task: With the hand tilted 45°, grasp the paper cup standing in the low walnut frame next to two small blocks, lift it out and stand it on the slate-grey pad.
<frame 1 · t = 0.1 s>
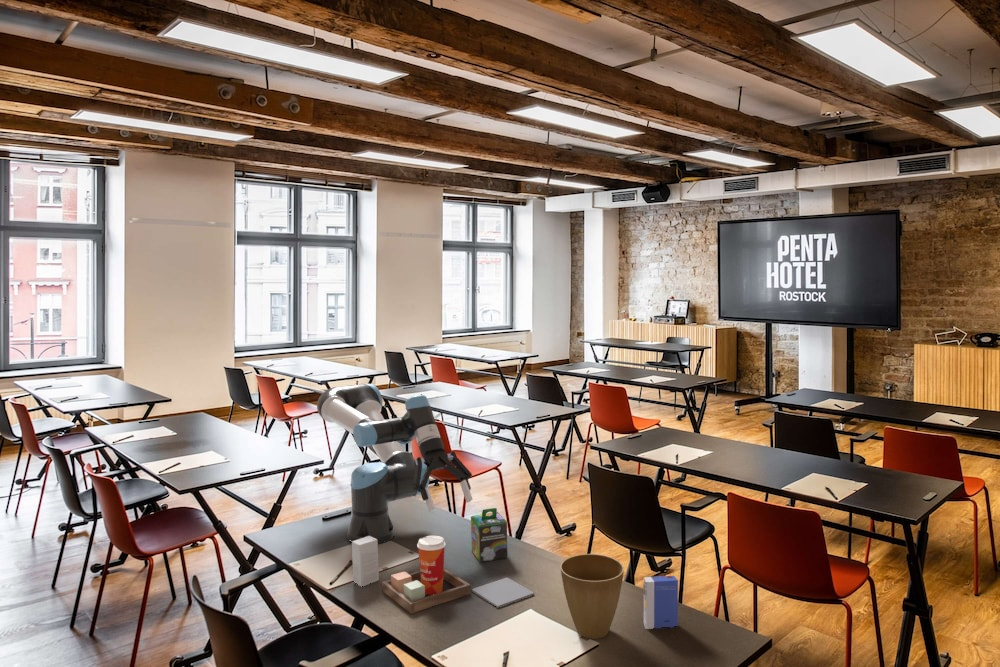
hand: (451, 505, 210), 15 cm above the table, tool tilted 35°, fingers open, 13 cm apart
sage block: (414, 603, 180), resting in walnut frame
blue carton: (660, 626, 167), on the table
paper cup: (432, 591, 187), resting in walnut frame
plant pot: (591, 632, 165), on the table
chalk box: (489, 555, 211), on the table
grey pad: (502, 593, 185), on the table
skincare box: (365, 582, 193), on the table
walnut frame: (426, 592, 186), on the table
terracotta block: (401, 593, 186), resting in walnut frame
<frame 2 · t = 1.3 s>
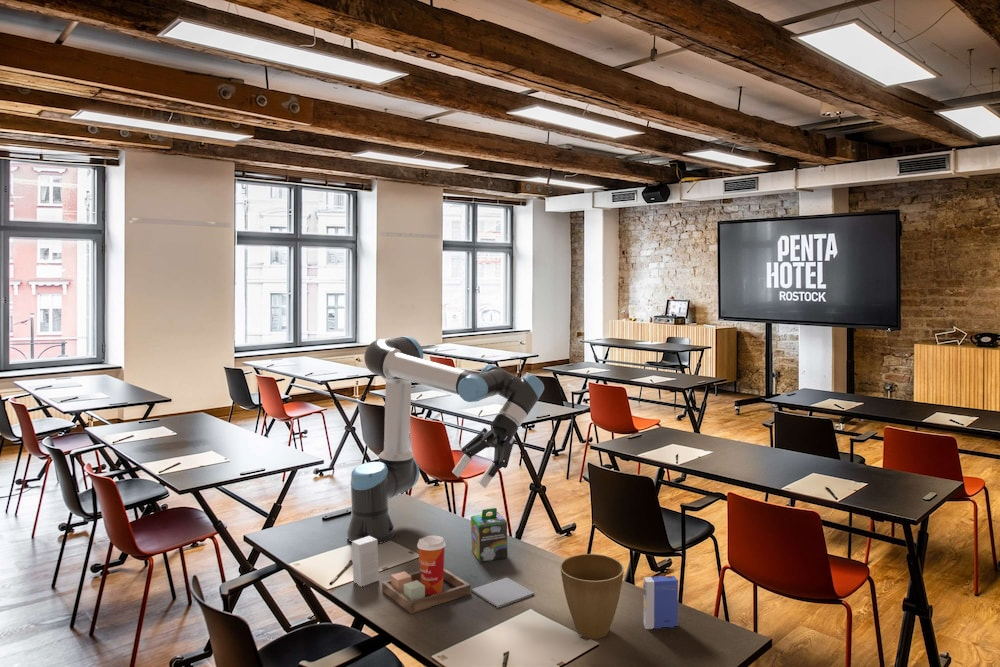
hand: (468, 479, 198), 27 cm above the table, tool tilted 45°, fingers open, 13 cm apart
nothing on the table moved.
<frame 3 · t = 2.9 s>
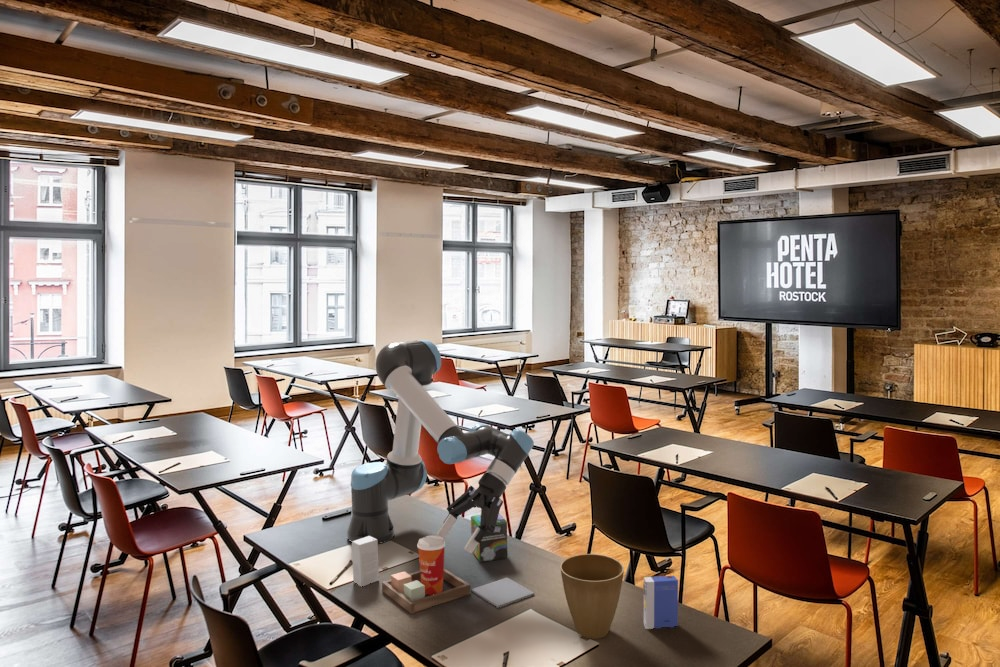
hand: (453, 543, 189), 12 cm above the table, tool tilted 45°, fingers open, 13 cm apart
nothing on the table moved.
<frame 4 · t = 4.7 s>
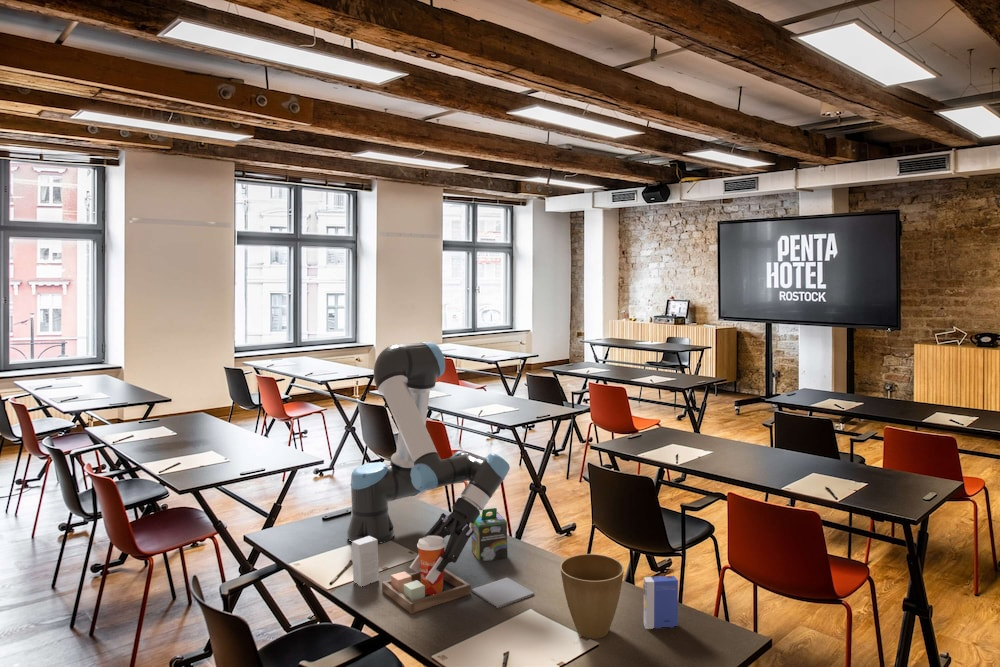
hand: (421, 575, 185), 5 cm above the table, tool tilted 45°, fingers closed on paper cup, 8 cm apart
paper cup: (432, 591, 187), resting in walnut frame, touching gripper
everything else where it was.
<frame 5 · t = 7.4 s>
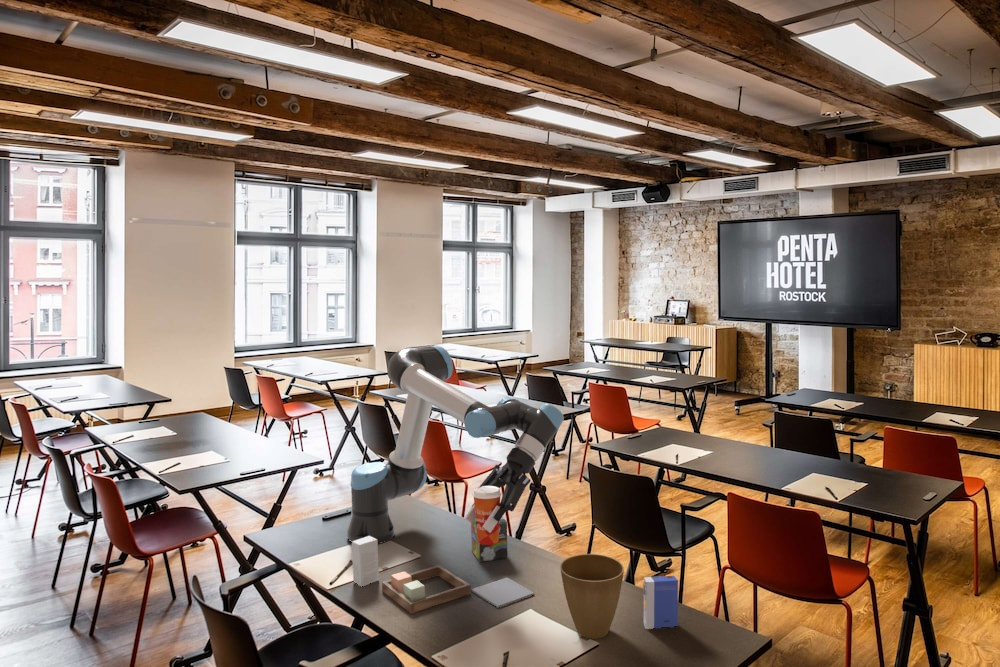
hand: (477, 525, 181), 20 cm above the table, tool tilted 45°, fingers closed on paper cup, 8 cm apart
paper cup: (488, 541, 184), point 14 cm above the table, touching gripper
everything else where it was.
when the fingers open (7 cm above the table, at t = 10.3 s): paper cup drops 1 cm, resting on grey pad.
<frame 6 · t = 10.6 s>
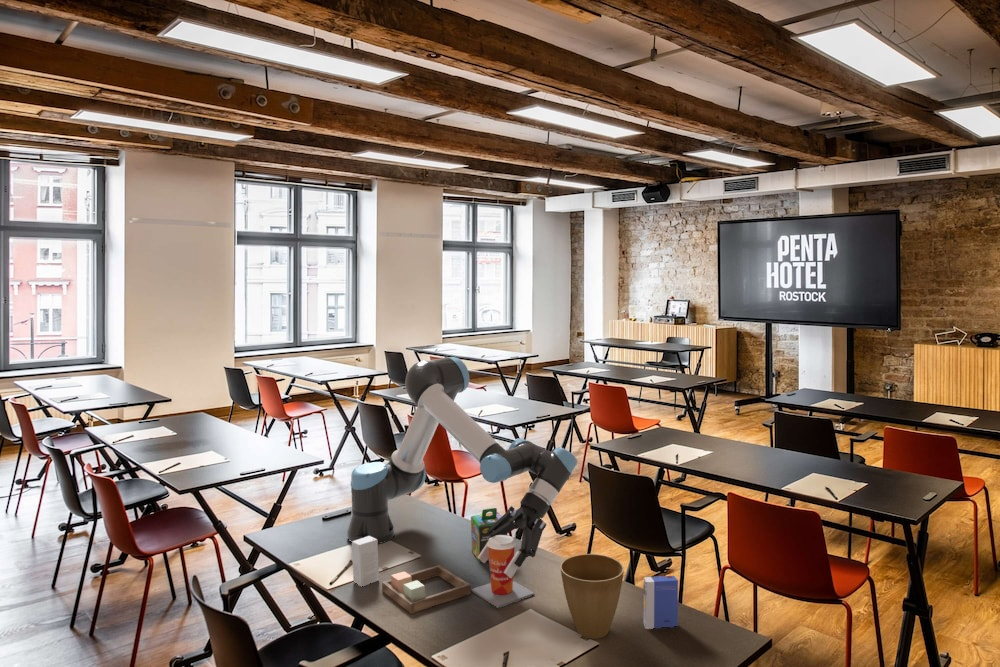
hand: (493, 567, 183), 8 cm above the table, tool tilted 45°, fingers open, 11 cm apart
paper cup: (502, 591, 185), resting on grey pad
everything else where it was.
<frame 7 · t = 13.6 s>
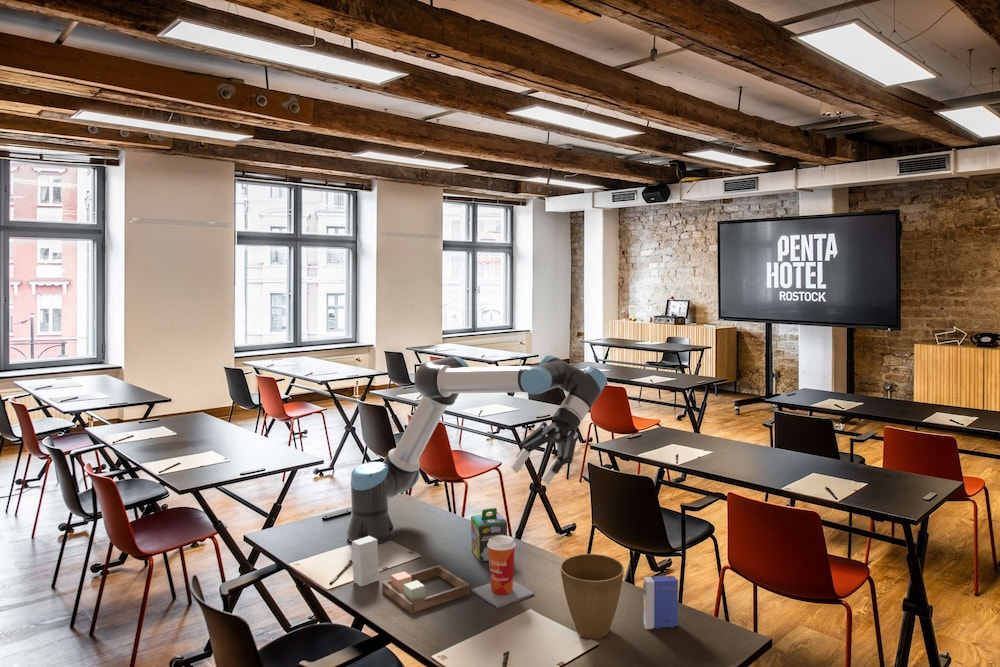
hand: (529, 475, 190), 30 cm above the table, tool tilted 45°, fingers open, 13 cm apart
nothing on the table moved.
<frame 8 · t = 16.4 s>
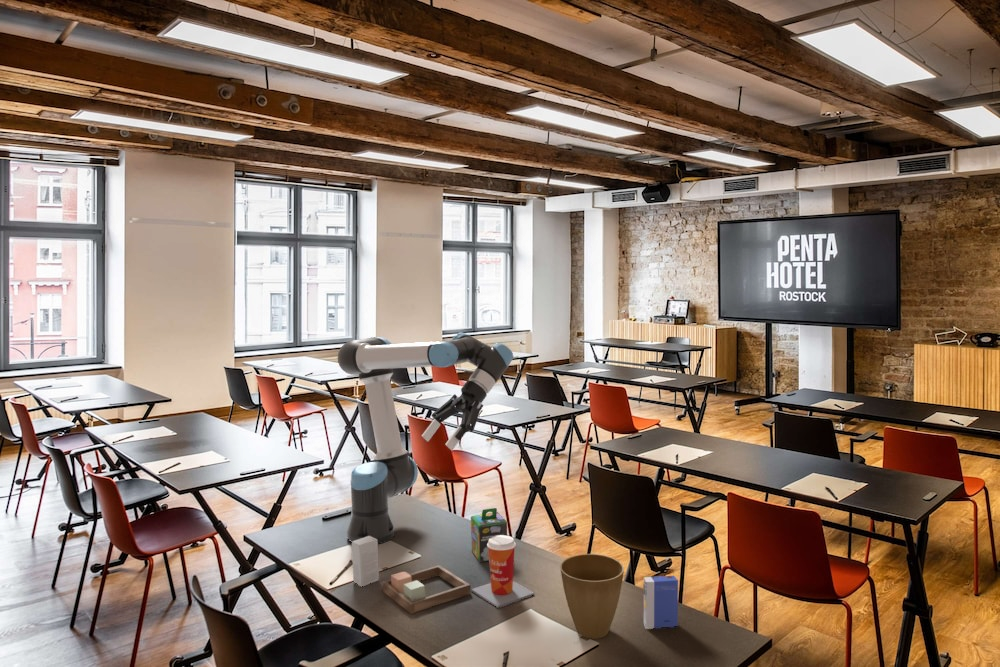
hand: (436, 443, 204), 36 cm above the table, tool tilted 45°, fingers open, 13 cm apart
nothing on the table moved.
at the end: paper cup inside the target area (0.2 cm from its centre), resting on grey pad; paper cup tilted 0°; the gripper is holding nothing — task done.
